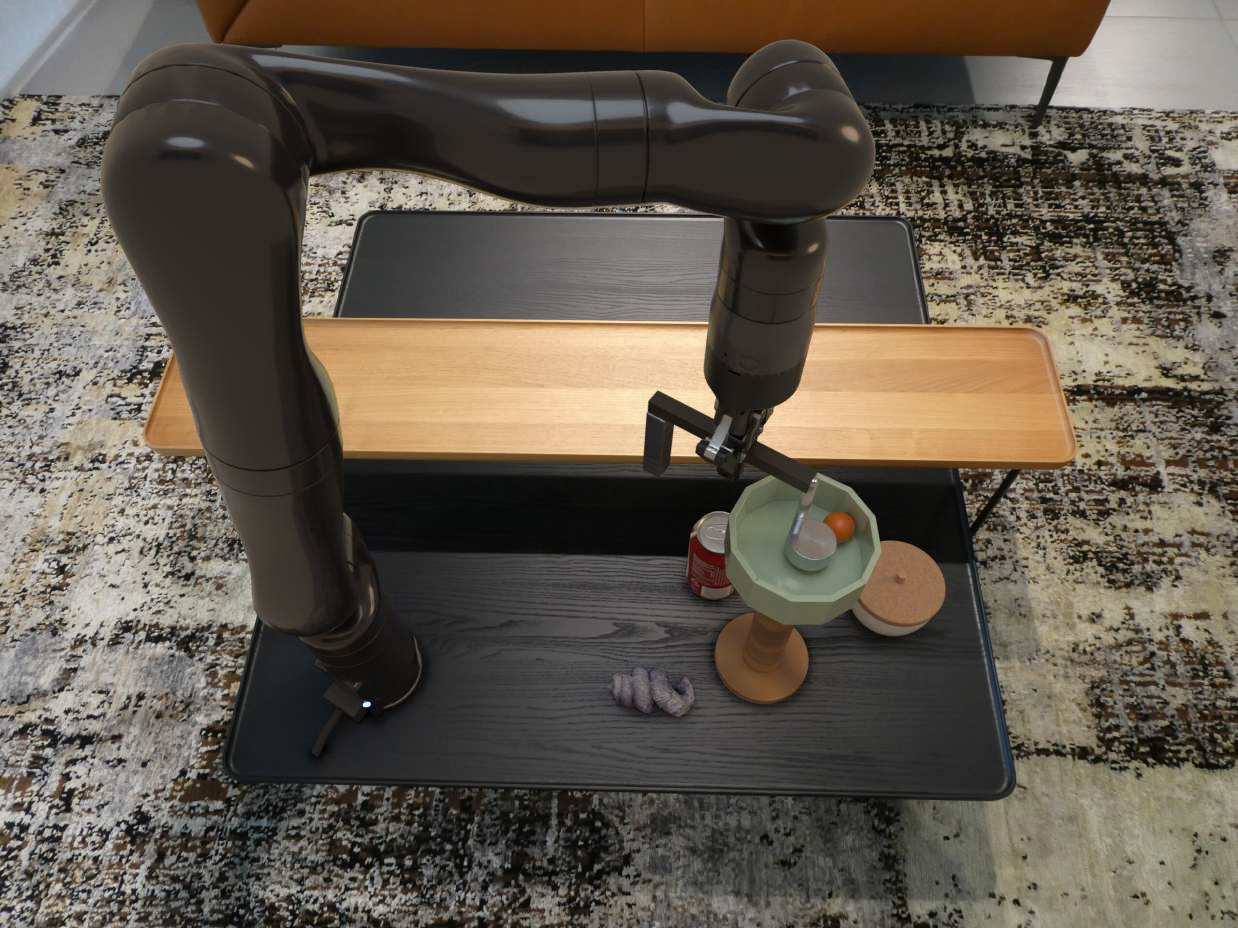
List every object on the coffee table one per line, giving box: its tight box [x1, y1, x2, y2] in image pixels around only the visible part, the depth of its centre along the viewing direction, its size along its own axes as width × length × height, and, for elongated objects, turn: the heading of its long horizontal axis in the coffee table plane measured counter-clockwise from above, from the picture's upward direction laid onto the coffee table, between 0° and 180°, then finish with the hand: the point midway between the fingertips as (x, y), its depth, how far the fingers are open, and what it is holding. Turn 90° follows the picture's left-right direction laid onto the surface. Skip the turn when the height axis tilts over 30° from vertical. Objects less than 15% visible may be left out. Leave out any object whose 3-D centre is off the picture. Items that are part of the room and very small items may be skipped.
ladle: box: [642, 390, 837, 571], centre depth 76 cm, size 20×4×10 cm, turn 56°
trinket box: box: [850, 540, 946, 637], centre depth 100 cm, size 11×11×9 cm
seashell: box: [607, 664, 695, 718], centre depth 96 cm, size 5×5×10 cm
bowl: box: [724, 472, 882, 626], centre depth 77 cm, size 13×13×5 cm
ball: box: [823, 512, 855, 544], centre depth 78 cm, size 3×3×3 cm
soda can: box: [685, 510, 737, 601], centre depth 102 cm, size 7×7×12 cm
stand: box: [714, 610, 810, 705], centre depth 90 cm, size 11×11×26 cm
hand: (734, 465), depth 76 cm, fingers closed on ladle
